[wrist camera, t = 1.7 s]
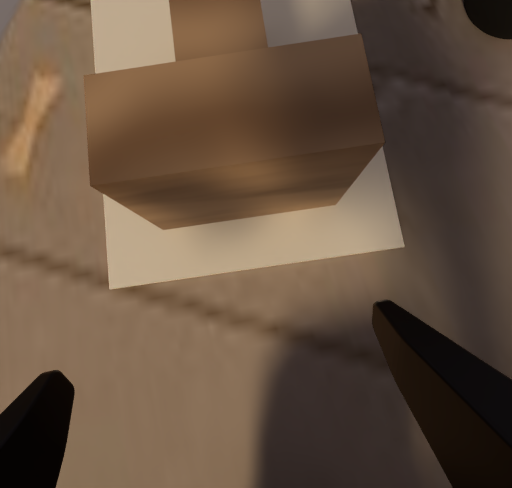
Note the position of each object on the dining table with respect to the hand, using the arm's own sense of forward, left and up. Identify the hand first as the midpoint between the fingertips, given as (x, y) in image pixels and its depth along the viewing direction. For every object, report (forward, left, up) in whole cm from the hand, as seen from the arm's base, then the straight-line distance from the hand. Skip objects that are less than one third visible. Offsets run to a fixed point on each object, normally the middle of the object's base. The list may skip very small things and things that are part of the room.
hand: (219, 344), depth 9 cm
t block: (+3, -14, -12) cm, 18 cm away
